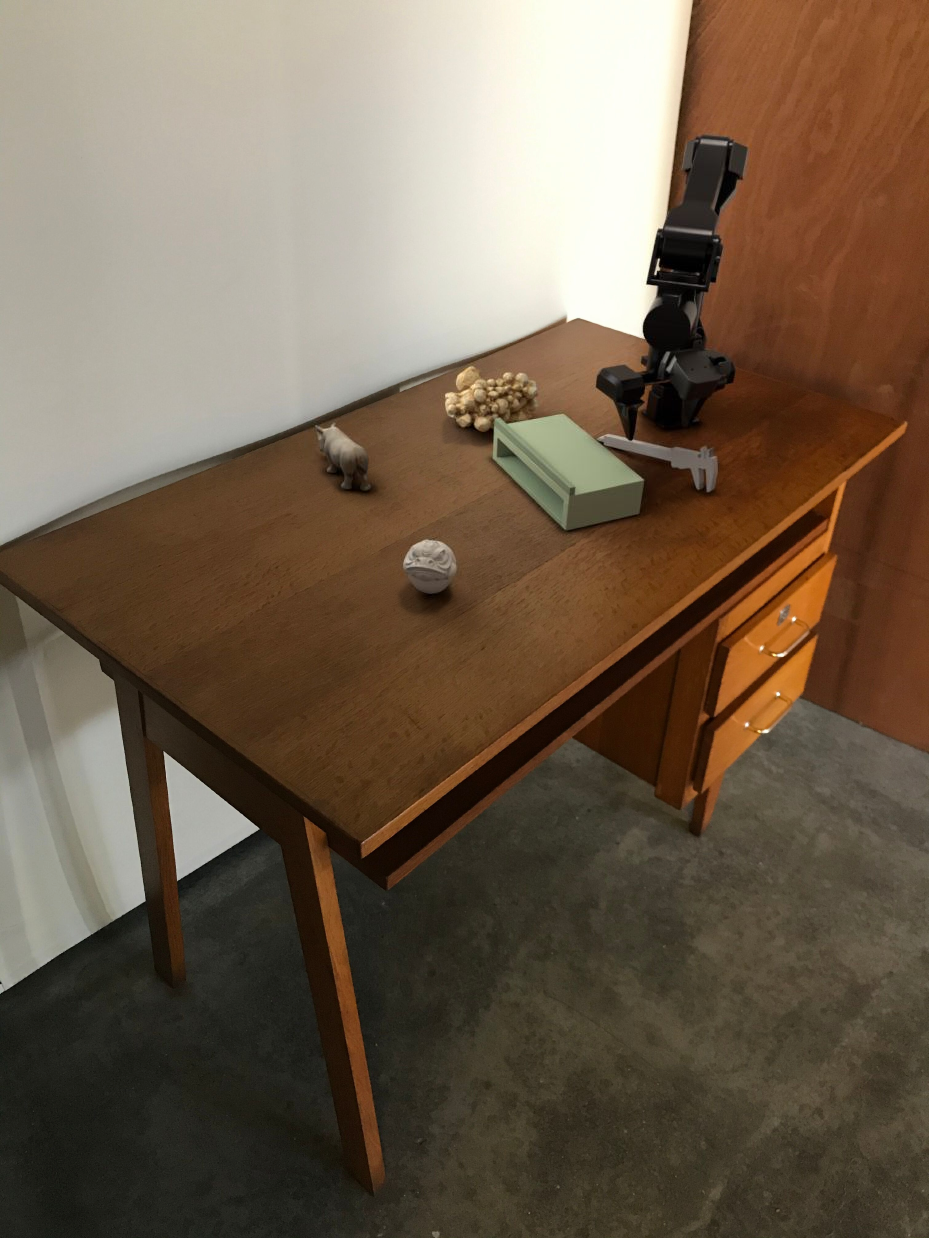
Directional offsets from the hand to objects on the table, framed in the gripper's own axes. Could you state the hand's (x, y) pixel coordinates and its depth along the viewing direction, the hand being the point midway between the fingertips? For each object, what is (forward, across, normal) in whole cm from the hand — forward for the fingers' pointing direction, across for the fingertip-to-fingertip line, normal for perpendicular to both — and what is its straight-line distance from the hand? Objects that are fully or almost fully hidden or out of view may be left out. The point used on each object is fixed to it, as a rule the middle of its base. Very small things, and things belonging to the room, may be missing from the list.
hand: (657, 434), depth 138 cm
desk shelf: (+5, -15, 0) cm, 15 cm away
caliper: (+5, 0, 0) cm, 5 cm away
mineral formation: (+5, -17, +21) cm, 27 cm away
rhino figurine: (+5, -41, +15) cm, 44 cm away
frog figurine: (+5, -41, -16) cm, 44 cm away
